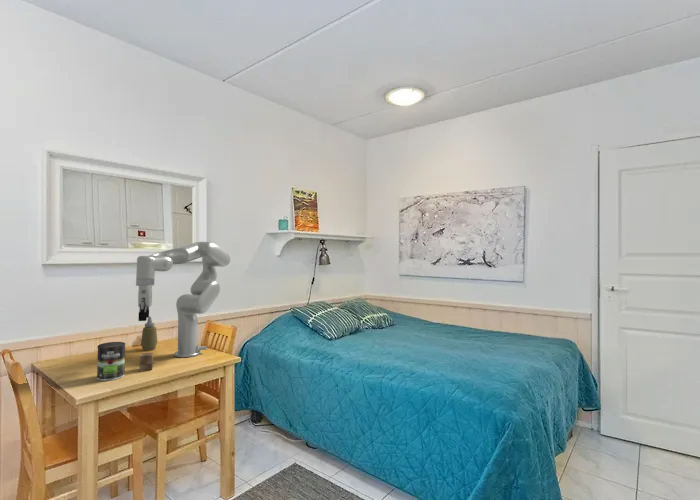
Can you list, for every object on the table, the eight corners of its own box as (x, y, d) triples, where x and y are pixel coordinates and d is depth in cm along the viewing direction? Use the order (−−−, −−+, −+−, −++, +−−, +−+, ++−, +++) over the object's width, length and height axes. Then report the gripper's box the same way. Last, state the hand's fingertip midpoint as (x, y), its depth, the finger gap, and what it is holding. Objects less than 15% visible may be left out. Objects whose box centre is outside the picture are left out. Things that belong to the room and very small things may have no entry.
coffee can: (124, 378, 163) (124, 345, 163) (95, 382, 159) (95, 348, 159) (125, 371, 173) (126, 340, 173) (98, 375, 168) (98, 342, 168)
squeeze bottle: (144, 347, 214) (145, 315, 214) (159, 347, 215) (160, 315, 215) (138, 351, 206) (138, 318, 206) (153, 351, 207) (154, 318, 207)
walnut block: (152, 367, 180) (152, 352, 180) (151, 370, 175) (152, 355, 175) (140, 368, 178) (140, 353, 178) (139, 371, 173) (139, 356, 173)
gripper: (152, 283, 172) (150, 321, 171) (155, 281, 188) (154, 316, 187) (133, 283, 169) (131, 322, 169) (138, 281, 185) (137, 316, 185)
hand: (143, 319), depth 178 cm, fingers open, 9 cm apart
